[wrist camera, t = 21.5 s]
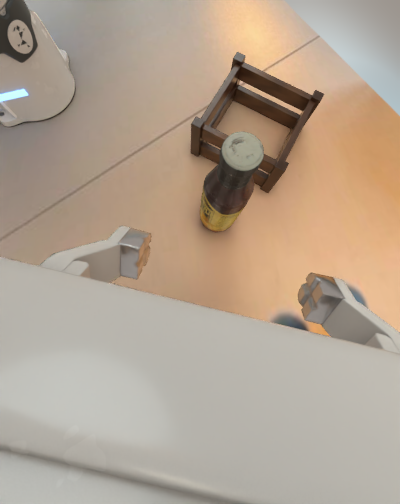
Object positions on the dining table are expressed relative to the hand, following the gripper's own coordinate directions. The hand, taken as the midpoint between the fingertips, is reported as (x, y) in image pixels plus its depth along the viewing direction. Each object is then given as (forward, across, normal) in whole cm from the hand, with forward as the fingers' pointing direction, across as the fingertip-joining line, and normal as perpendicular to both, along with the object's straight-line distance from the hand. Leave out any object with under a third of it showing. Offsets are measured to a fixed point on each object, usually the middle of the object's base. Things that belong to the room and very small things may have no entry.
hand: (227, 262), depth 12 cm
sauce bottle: (+28, 0, +10) cm, 30 cm away
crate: (+40, -2, -2) cm, 40 cm away
